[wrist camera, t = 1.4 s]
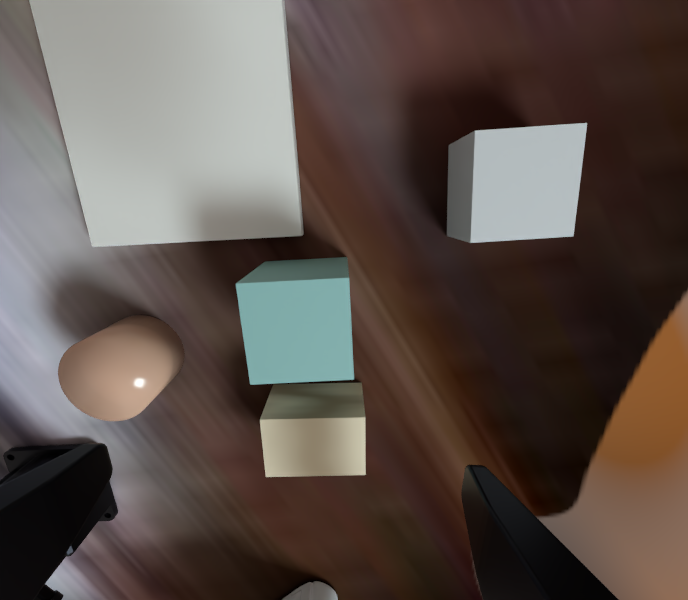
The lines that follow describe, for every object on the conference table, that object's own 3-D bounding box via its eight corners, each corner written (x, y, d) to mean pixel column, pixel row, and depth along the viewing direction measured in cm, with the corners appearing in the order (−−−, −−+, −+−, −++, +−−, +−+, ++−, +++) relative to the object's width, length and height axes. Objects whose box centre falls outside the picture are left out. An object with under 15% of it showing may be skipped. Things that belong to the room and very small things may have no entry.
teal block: (274, 337, 22) (250, 384, 16) (265, 261, 21) (235, 283, 15) (350, 333, 22) (354, 379, 16) (346, 256, 21) (348, 277, 15)
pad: (104, 244, 20) (92, 247, 19) (44, 4, 17) (26, -8, 16) (303, 234, 20) (302, 235, 19) (283, -10, 17) (279, -23, 16)
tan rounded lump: (117, 386, 23) (72, 423, 19) (99, 316, 22) (46, 340, 18) (190, 382, 23) (160, 418, 19) (177, 312, 22) (141, 336, 18)
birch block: (277, 433, 24) (265, 477, 20) (273, 383, 23) (259, 419, 19) (361, 431, 24) (365, 474, 20) (361, 381, 23) (365, 417, 19)
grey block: (446, 235, 20) (470, 242, 16) (447, 145, 19) (475, 130, 15) (529, 230, 20) (573, 236, 16) (537, 139, 19) (587, 122, 15)
